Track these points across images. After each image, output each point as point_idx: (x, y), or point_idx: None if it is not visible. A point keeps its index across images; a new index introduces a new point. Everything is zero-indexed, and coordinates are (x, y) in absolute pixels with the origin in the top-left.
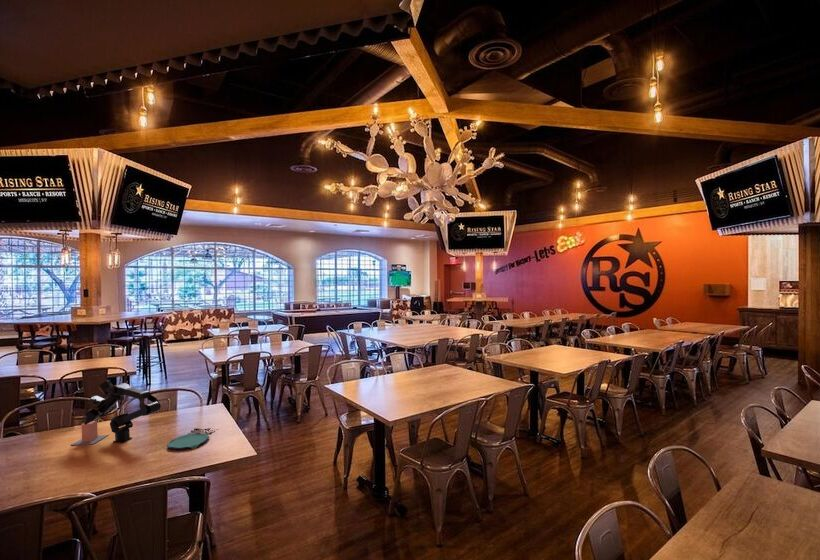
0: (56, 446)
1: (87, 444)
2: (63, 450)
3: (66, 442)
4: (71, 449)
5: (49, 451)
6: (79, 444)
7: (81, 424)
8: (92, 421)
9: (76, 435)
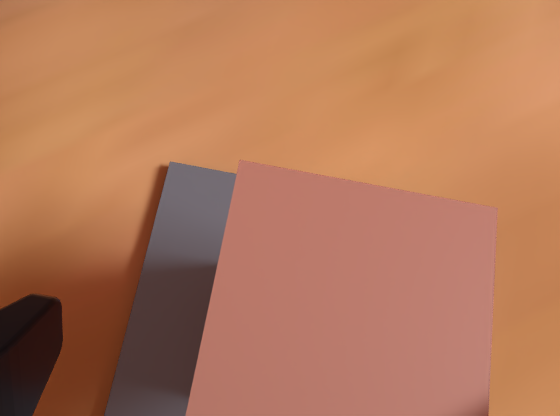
0: (215, 11)
1: (110, 399)
2: (21, 155)
3: (322, 59)
4: (11, 244)
5: (64, 10)
6: (140, 277)
7: (241, 162)
8: (428, 371)
9: (547, 63)
